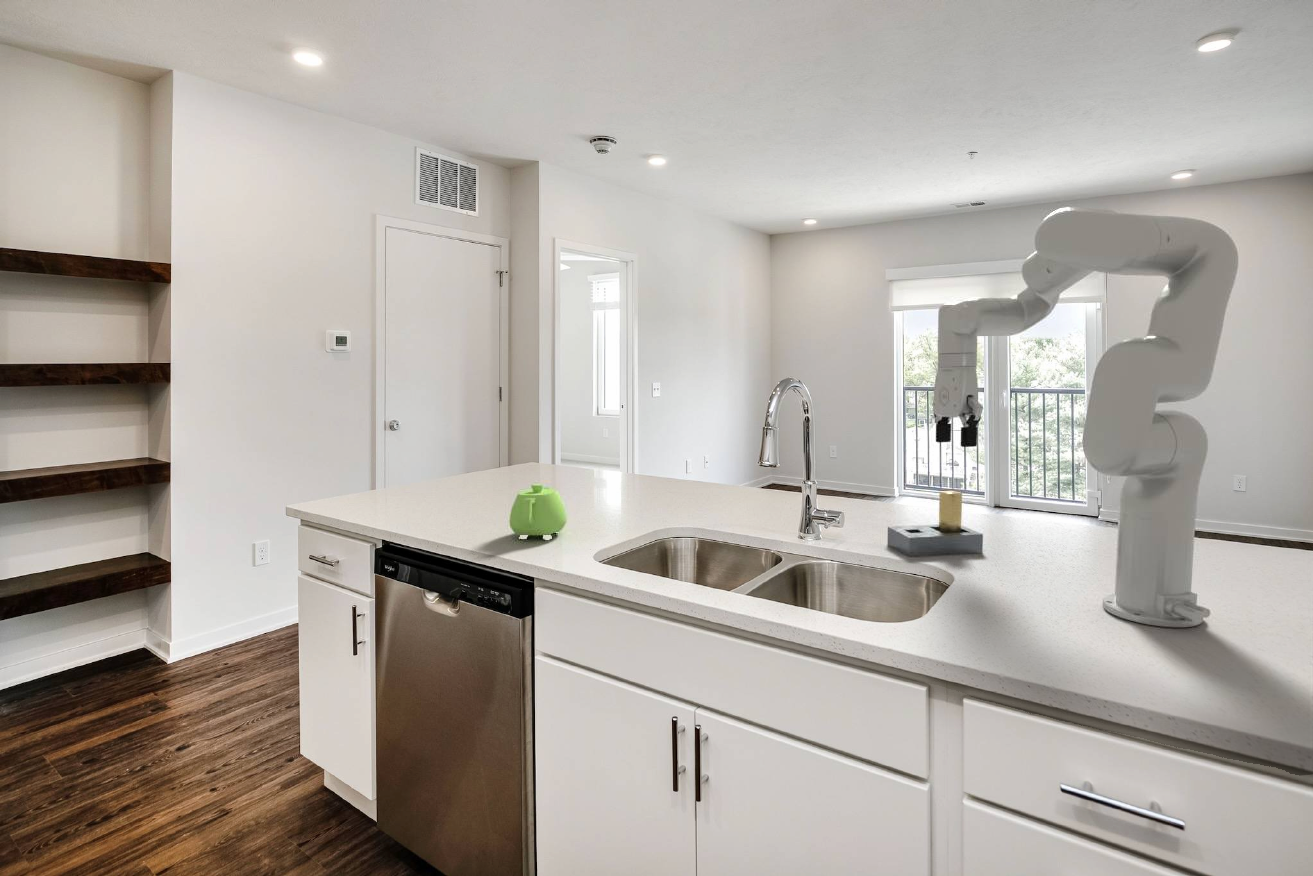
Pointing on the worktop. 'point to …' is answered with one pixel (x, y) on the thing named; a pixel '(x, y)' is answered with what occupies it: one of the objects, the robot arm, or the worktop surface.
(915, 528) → the block
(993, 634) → the worktop surface
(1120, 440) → the robot arm
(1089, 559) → the worktop surface
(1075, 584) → the worktop surface
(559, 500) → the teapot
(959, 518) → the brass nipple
